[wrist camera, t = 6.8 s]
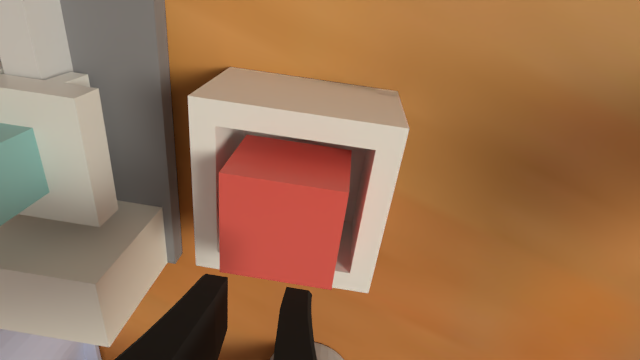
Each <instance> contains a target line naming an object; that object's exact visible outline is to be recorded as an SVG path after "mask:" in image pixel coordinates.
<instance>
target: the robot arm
mask: <svg viewBox="0 0 640 360" xmlns="http://www.w3.org/2000/svg"><path fill="white" fill-rule="evenodd" d="M227 294H228V277H222V276H216V275H209V274H205V275H204V276H202V277H201V278H200V279H199V280H198V281H197V282H196V284H195V285H194V286H193V287H192V288H191V289H190V290H189V291H188V292H187V293H186V294H185V295H184V296H183V297H182V298H181V299H180V300H179V301H178V302H177V303H176V304H175V305H174V306H173V307H172V308H171V309H170V310H169V311H168V312H167V313H166V314H165V315H164V316H163V317H162V318H161V319H159V320H158V321H157V322H156V323H155V324H154V325H153V326H152V327H151V328H150V329H149V330H148V331H147V332H146V333H145V334H143V335H142V336H141V337H140V338H139V339H138V340H137V341H136V342H134V343H133V344H132V345H131V346H130V347H129V348H127V349H126V350H125V351H124V352H123V353H122V354H120V355H119V356H118V357H117V358H116V359H115V360H218V357H219V354H220V351H221V347H222V344H223V341H224V338H225V334H226V331H227ZM311 298H312V294H311V293H310V292H309V291H308V290H302V289H296V288H290V287H286V291H285V294H284V297H283V301H282V304H281V308H280V314H279V321H278V328H277V336H276V343H275V350H274V358H273V360H317V356H316V351H315V345H314V338H313V329H312V318H311ZM0 360H102V359H101V355H100V350H99V346H98V345H93V344H87V343H81V342H75V341H69V340H63V339H57V338H51V337H45V336H39V335H34V334H28V333H22V332H16V331H10V330H4V329H0Z"/></svg>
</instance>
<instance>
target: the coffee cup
mask: <svg viewBox="0 0 640 360" xmlns="http://www.w3.org/2000/svg"><path fill="white" fill-rule="evenodd" d="M314 345H315V351H316V356H317V360H344V359H343V358H342V357H341V356H340V355H339V354H338V353H337V352H336V351H334V350H333V349H331V348H329V347H327V346H325V345H323V344H320V343H316V342H314ZM273 358H274V354H273V355H272V357H271V358H270V360H273Z"/></svg>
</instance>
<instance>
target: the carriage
mask: <svg viewBox="0 0 640 360" xmlns="http://www.w3.org/2000/svg"><path fill="white" fill-rule="evenodd" d="M117 210H118V204H117V198H116V192H115V186H114V180H113V174H112V167H111V161H110V155H109V149H108V143H107V137H106V131H105V125H104V119H103V113H102V106H101V100H100V94H99V88H93V87H90V83H89V78H88V74H82V73H75V72H69V73H66V74H62V75H59V76H56V77H53V78H50V79H47V80H39V79H33V78H26V77H19V76H13V75H6V74H5V73H4V70H3V66H2V63H1V62H0V226H1V225H3V224H4V223H6V222H7V221H8V220H10V219H11V218H13V217H14V216H16V215H17V214H20V215H26V216H33V217H39V218H45V219H51V220H58V221H64V222H70V223H76V224H83V225H89V226H95V227H100V226H101V225H103V224H104V223H105V222H106V221H107V220H108V219H109V218H110V217H111V216H112V215H113V214H114V213H115V212H116V211H117Z"/></svg>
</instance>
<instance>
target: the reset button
mask: <svg viewBox="0 0 640 360" xmlns="http://www.w3.org/2000/svg"><path fill="white" fill-rule="evenodd" d="M351 154H352V150H346V149H340V148H333V147H327V146H320V145H313V144H307V143H300V142H293V141H287V140H280V139H274V138H267V137H260V136H254V135H246V136H245V138H244V139H243V140H242V142H241V143H240V144H239V146H238V147H237V148H236V150H235V151H234V152H233V154H232V155H231V157H230V158H229V159H228V161H227V162H226V163H225V165H224V166H223V167H222V169H221V170H220V172H219V253H220V272H224V273H230V274H236V275H242V276H248V277H254V278H261V279H267V280H273V281H279V282H285V283H292V284H298V285H304V286H310V287H316V288H322V289H329V290H331V289H332V284H333V278H334V273H335V267H336V262H337V256H338V251H339V246H340V240H341V235H342V229H343V224H344V218H345V213H346V207H347V202H348V197H349V188H350V171H351Z"/></svg>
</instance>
